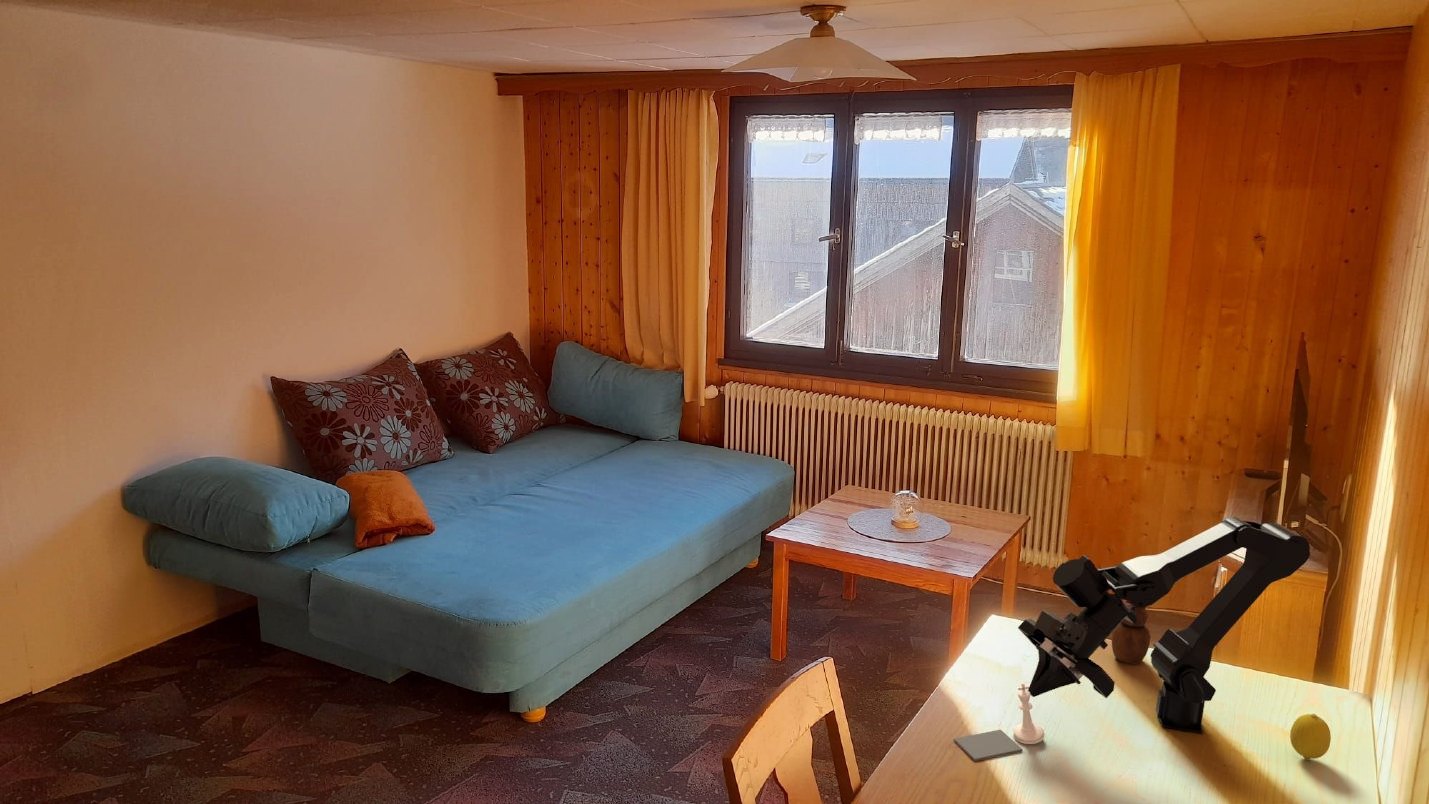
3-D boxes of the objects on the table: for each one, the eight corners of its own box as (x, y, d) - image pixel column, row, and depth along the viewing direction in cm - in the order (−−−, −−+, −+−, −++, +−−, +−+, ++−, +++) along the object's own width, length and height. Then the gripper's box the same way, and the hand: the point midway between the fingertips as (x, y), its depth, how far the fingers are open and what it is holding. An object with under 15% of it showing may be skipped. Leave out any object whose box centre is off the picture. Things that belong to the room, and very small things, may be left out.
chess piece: (1048, 741, 164) (1042, 689, 161) (1018, 746, 164) (1011, 694, 161) (1039, 723, 169) (1033, 672, 166) (1010, 727, 169) (1003, 677, 166)
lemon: (1325, 773, 158) (1334, 727, 157) (1285, 761, 161) (1293, 717, 159) (1326, 756, 163) (1334, 711, 161) (1287, 745, 166) (1295, 701, 164)
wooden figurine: (1145, 656, 195) (1155, 584, 192) (1147, 669, 190) (1157, 596, 186) (1108, 650, 197) (1117, 578, 194) (1109, 663, 192) (1118, 590, 189)
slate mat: (1000, 731, 168) (1000, 729, 168) (1022, 751, 163) (1022, 749, 163) (953, 740, 165) (953, 738, 165) (974, 761, 160) (974, 758, 160)
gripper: (1033, 573, 171) (971, 641, 170) (1108, 621, 154) (1040, 696, 153) (1066, 611, 176) (1006, 677, 174) (1143, 661, 158) (1077, 734, 157)
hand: (1030, 694), depth 165 cm, fingers closed
